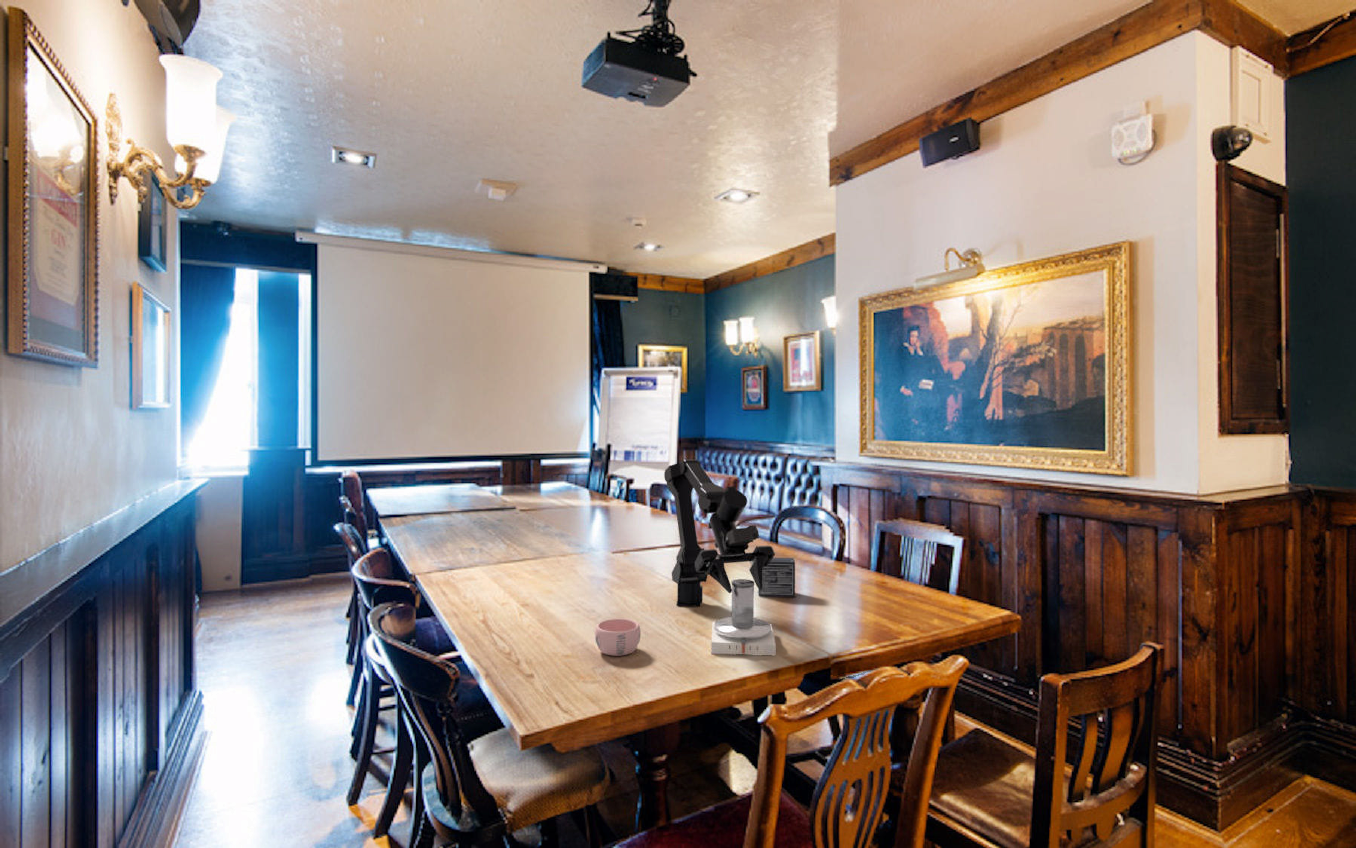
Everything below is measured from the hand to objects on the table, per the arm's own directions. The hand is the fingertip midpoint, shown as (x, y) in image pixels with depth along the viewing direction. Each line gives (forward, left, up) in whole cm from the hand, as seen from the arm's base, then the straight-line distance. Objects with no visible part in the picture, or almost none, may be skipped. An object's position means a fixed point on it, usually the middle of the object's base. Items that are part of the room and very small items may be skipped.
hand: (745, 590), depth 147 cm
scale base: (-1, +1, -13) cm, 13 cm away
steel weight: (-1, +1, -8) cm, 9 cm away
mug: (-29, -6, -13) cm, 32 cm away
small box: (+10, +43, -13) cm, 46 cm away
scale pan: (-1, +1, -12) cm, 12 cm away
